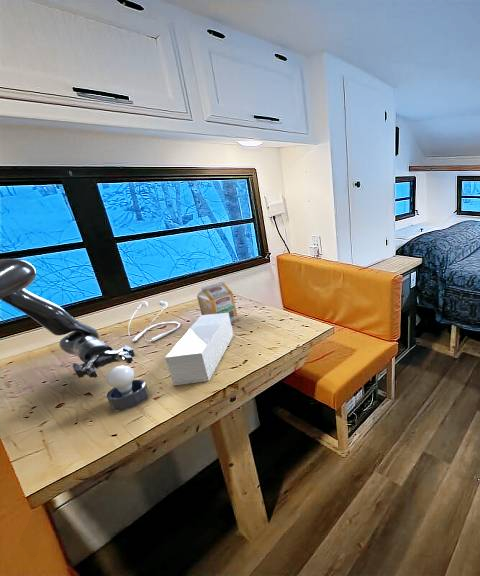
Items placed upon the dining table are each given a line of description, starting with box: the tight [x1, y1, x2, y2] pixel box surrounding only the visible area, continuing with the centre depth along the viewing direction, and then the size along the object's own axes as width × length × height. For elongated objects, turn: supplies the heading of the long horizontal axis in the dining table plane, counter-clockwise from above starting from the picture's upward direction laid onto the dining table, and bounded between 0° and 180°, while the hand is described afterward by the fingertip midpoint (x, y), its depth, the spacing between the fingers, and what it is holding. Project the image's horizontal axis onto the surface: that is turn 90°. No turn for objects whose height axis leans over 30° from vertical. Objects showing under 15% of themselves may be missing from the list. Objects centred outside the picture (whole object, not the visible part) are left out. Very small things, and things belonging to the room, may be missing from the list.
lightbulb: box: [106, 365, 136, 397], centre depth 91 cm, size 6×6×11 cm
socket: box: [106, 379, 150, 412], centre depth 93 cm, size 9×9×4 cm
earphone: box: [127, 300, 181, 343], centre depth 134 cm, size 14×17×18 cm
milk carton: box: [196, 280, 239, 324], centre depth 140 cm, size 11×11×19 cm
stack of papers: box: [164, 313, 234, 386], centre depth 113 cm, size 32×11×11 cm, turn 12°
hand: (113, 367), depth 94 cm, fingers open, 8 cm apart
